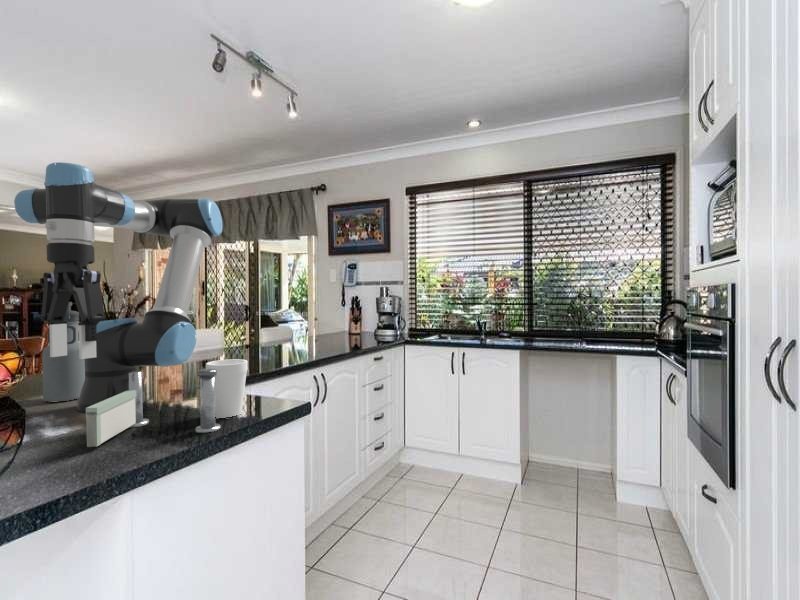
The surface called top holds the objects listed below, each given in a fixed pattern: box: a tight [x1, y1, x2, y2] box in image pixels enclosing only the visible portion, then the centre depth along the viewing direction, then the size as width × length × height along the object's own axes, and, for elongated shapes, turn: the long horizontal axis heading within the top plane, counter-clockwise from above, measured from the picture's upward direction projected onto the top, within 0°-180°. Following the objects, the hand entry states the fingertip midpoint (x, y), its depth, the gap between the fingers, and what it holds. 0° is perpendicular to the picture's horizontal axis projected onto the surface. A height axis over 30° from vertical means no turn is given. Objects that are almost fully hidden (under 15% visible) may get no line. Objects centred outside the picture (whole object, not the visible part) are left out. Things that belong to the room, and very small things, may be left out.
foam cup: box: [205, 358, 249, 419], centre depth 103 cm, size 10×9×13 cm
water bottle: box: [41, 301, 85, 402], centre depth 121 cm, size 10×10×28 cm
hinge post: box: [127, 370, 150, 429], centre depth 96 cm, size 5×5×12 cm
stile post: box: [194, 368, 222, 434], centre depth 92 cm, size 5×5×13 cm
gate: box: [85, 390, 136, 448], centre depth 87 cm, size 15×2×7 cm, turn 7°
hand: (73, 357), depth 84 cm, fingers open, 8 cm apart
